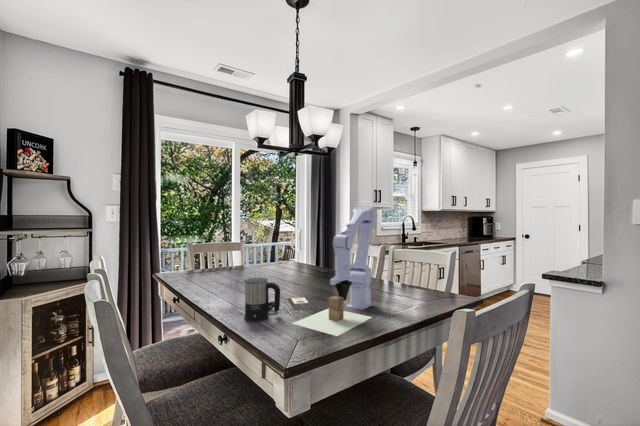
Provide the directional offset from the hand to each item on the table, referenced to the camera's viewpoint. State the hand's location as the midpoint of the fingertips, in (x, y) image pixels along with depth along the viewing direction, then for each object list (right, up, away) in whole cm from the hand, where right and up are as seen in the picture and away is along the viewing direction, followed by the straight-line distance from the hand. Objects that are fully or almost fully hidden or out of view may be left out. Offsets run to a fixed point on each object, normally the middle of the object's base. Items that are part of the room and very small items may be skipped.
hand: (342, 300), depth 127 cm
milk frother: (-32, -7, +3) cm, 33 cm away
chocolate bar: (-17, -7, +17) cm, 25 cm away
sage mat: (-4, -6, -5) cm, 9 cm away
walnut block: (-3, -6, -4) cm, 8 cm away
